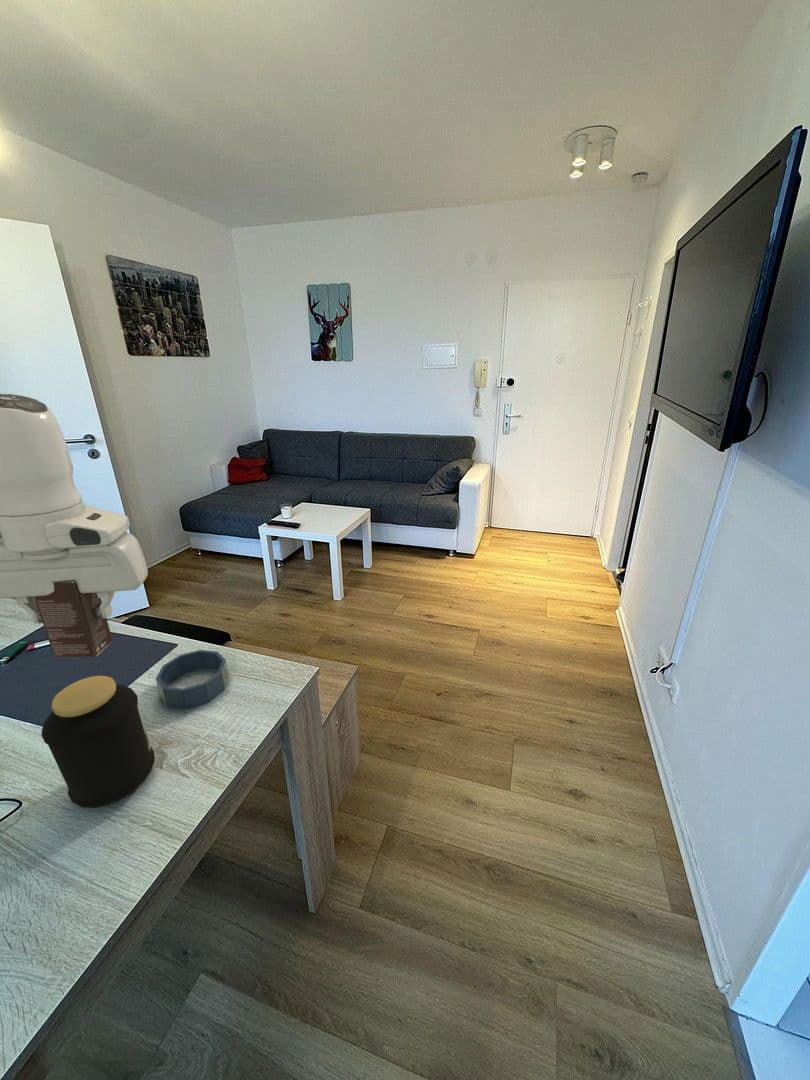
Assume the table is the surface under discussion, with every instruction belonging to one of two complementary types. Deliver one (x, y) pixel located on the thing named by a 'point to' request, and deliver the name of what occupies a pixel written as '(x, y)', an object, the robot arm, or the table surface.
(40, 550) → the robot arm
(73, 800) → the container
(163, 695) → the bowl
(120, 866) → the table surface
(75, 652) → the box
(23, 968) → the table surface
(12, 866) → the table surface
